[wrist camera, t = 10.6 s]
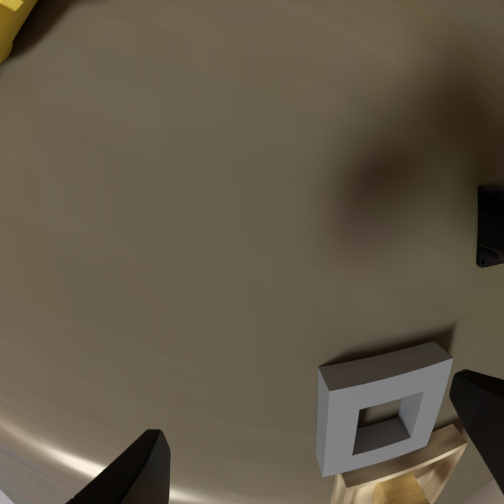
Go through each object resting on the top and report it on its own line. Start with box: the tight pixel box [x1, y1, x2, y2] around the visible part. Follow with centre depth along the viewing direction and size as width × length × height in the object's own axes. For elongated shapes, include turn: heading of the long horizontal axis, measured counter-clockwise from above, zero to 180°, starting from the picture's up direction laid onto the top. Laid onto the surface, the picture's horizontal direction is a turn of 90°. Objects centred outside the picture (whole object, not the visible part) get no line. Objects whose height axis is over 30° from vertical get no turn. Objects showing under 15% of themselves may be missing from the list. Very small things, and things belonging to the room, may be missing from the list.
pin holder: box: [316, 341, 453, 477], centre depth 20 cm, size 10×10×3 cm
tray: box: [330, 424, 468, 504], centre depth 23 cm, size 14×14×4 cm
